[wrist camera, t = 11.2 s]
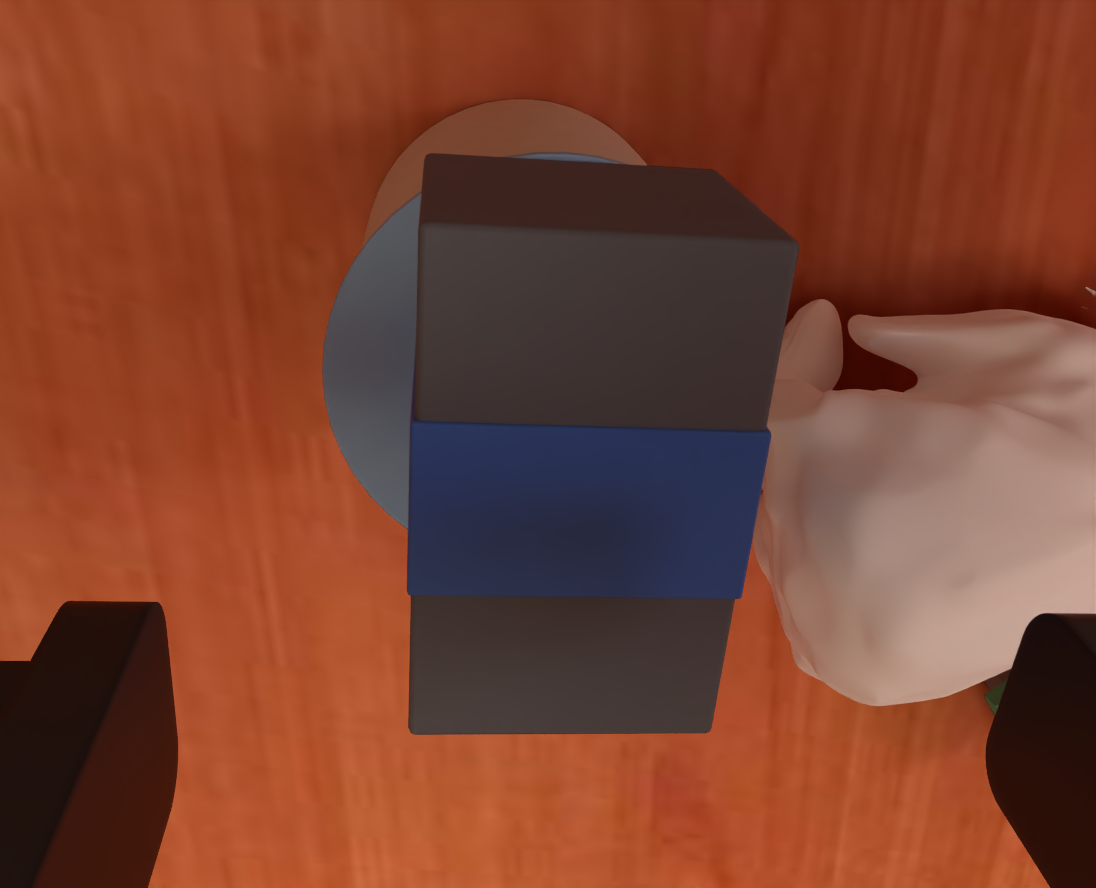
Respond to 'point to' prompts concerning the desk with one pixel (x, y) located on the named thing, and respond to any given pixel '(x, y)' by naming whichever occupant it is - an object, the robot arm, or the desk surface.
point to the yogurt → (391, 281)
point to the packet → (584, 441)
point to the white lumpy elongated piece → (928, 497)
